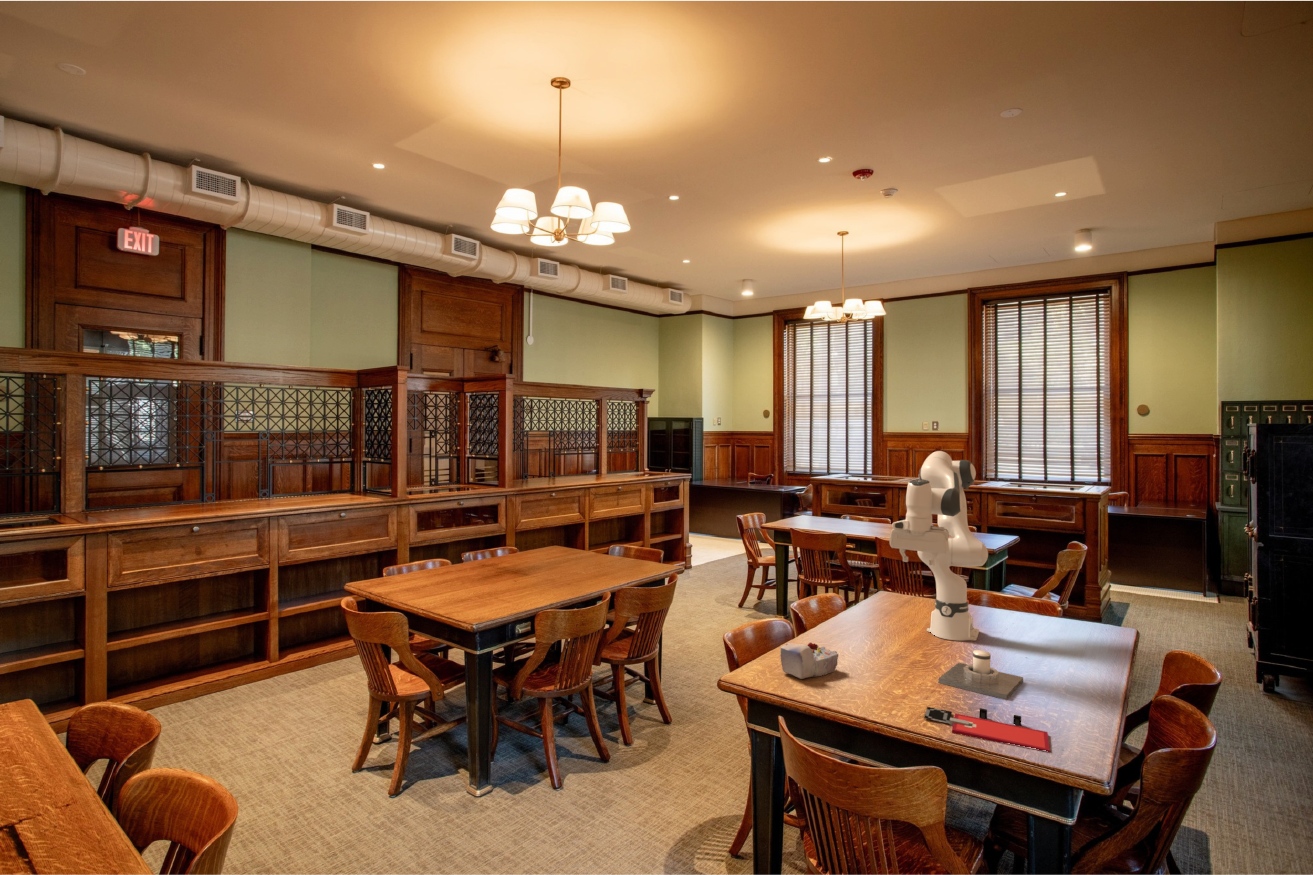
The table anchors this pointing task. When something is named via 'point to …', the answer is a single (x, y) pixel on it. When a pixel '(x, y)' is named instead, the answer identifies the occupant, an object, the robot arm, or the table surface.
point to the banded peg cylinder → (981, 662)
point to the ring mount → (981, 681)
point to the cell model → (807, 660)
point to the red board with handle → (991, 728)
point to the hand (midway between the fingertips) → (918, 563)
